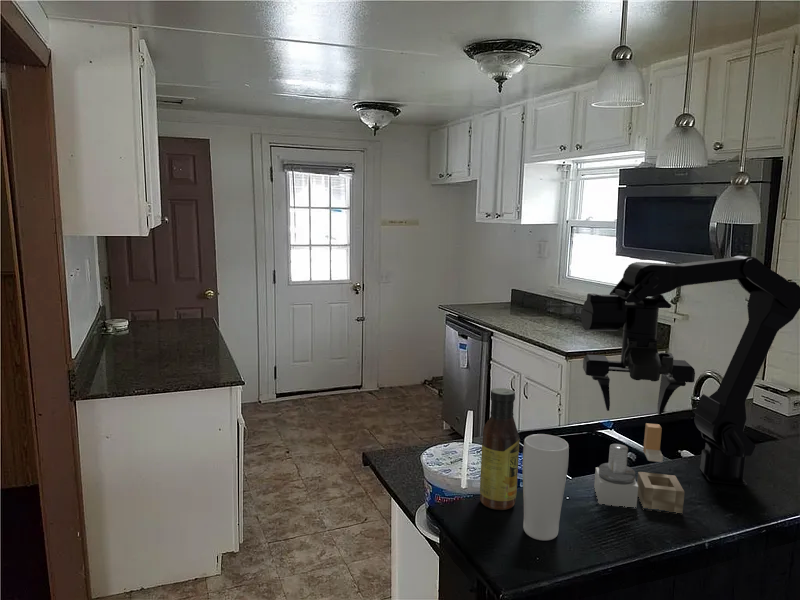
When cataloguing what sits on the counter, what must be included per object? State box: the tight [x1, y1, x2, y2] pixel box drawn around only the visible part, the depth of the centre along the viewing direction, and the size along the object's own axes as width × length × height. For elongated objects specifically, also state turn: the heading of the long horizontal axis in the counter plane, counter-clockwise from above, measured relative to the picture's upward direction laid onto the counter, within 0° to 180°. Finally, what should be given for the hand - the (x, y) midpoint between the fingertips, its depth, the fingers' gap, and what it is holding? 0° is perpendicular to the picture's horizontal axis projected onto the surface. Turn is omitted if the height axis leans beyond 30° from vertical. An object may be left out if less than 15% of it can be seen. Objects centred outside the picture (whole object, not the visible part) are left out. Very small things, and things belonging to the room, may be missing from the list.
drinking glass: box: [521, 433, 570, 542], centre depth 90 cm, size 7×7×15 cm
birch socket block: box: [636, 471, 685, 514], centre depth 101 cm, size 6×6×4 cm
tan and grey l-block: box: [642, 422, 664, 463], centre depth 107 cm, size 2×5×5 cm, turn 168°
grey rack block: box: [593, 466, 638, 509], centre depth 102 cm, size 6×6×4 cm
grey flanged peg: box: [598, 443, 636, 485], centre depth 102 cm, size 6×6×9 cm
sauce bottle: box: [479, 387, 520, 511], centre depth 98 cm, size 7×6×20 cm
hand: (633, 412), depth 109 cm, fingers open, 9 cm apart
